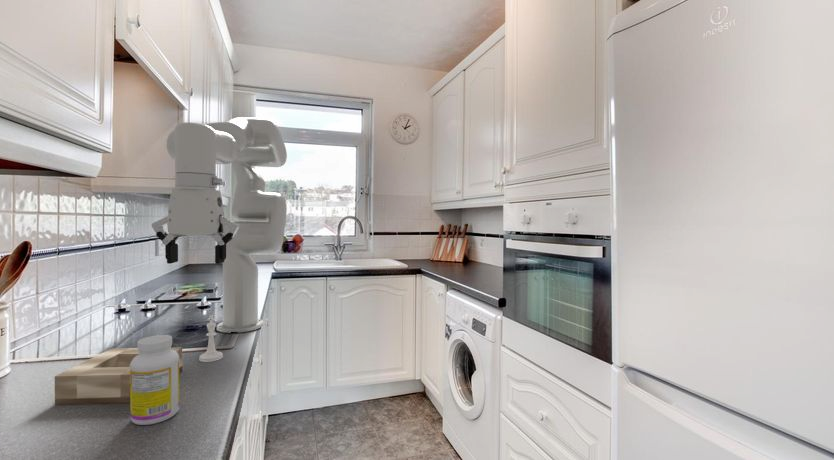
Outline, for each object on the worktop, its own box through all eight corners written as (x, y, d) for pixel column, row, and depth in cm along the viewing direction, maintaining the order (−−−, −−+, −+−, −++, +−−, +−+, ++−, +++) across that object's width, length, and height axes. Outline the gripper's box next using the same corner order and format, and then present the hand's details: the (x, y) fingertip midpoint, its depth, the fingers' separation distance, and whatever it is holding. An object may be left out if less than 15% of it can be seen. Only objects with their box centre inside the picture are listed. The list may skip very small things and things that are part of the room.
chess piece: (212, 363, 85) (212, 319, 84) (193, 361, 86) (194, 317, 85) (227, 355, 90) (228, 313, 89) (209, 353, 91) (210, 312, 90)
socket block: (111, 372, 79) (111, 348, 79) (182, 370, 80) (182, 347, 80) (54, 404, 65) (54, 376, 65) (141, 402, 66) (141, 374, 66)
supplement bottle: (153, 404, 66) (153, 331, 65) (188, 407, 65) (188, 333, 65) (119, 425, 59) (118, 344, 59) (158, 428, 58) (158, 346, 58)
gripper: (244, 185, 85) (244, 261, 86) (162, 183, 83) (163, 260, 84) (231, 183, 77) (231, 265, 78) (141, 180, 76) (142, 265, 76)
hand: (196, 262), depth 81 cm, fingers open, 9 cm apart
